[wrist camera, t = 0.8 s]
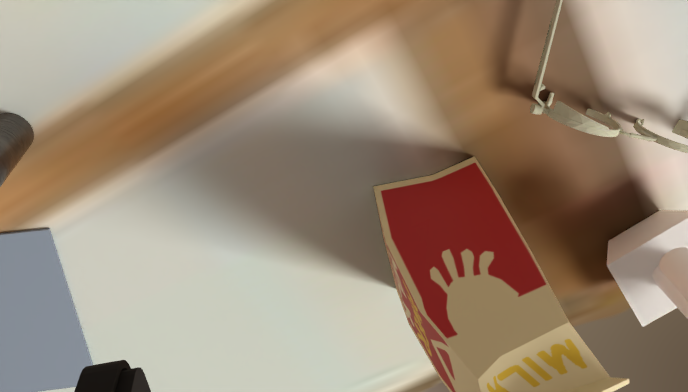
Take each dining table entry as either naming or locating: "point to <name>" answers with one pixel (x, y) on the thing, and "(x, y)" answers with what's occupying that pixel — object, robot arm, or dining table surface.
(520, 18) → the dining table surface
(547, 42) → the sunglasses
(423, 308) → the milk carton
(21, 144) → the post
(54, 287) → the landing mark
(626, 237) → the figurine
